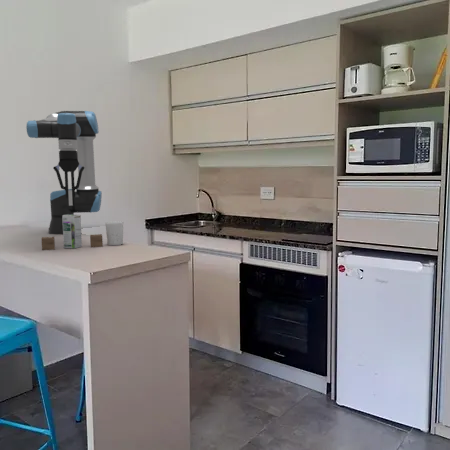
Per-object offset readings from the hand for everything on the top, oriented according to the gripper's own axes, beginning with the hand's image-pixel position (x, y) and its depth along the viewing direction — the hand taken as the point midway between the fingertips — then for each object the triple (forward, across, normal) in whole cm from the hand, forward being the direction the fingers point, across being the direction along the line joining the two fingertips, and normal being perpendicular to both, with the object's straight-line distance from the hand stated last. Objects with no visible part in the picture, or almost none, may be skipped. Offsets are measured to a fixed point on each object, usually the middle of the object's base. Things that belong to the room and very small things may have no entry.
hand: (70, 205), depth 196 cm
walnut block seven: (+19, -10, 0) cm, 21 cm away
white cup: (+19, +18, +2) cm, 26 cm away
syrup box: (+19, 0, 0) cm, 19 cm away
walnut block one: (+19, +10, 0) cm, 21 cm away
